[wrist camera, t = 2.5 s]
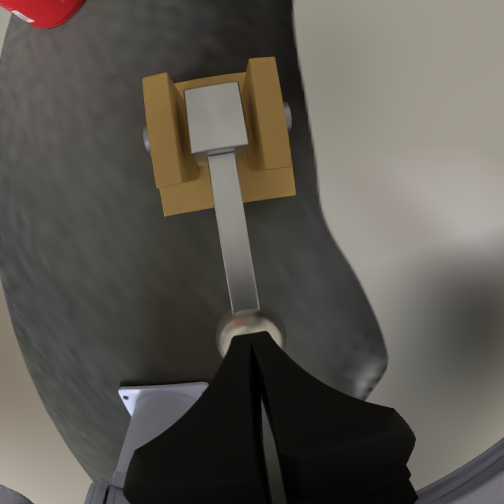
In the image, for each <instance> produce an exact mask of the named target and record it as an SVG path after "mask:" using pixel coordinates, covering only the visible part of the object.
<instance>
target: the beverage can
mask: <svg viewBox="0 0 504 504" xmlns="http://www.w3.org/2000/svg"><path fill="white" fill-rule="evenodd" d="M83 2H84V0H0V6H1V7H3V8H5V9H7V10H8V11H10V12H11V13H13V14H15V15H16V16H18V17H19V18H21V19H23V20H24V21H26V22H27V23H29V24H30V25H32V26H34V27H36V28H55V27H57V26H60V25H62V24H63V23H65V22H66V21H68V20H69V19H70V18H71V17H73V16H74V15H75V14H76V13H77V11H78V10H79V9H80V7H81V6H82V4H83Z"/></svg>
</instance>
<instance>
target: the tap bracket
mask: <svg viewBox="0 0 504 504" xmlns="http://www.w3.org/2000/svg"><path fill="white" fill-rule="evenodd" d="M234 81H238V82H239V86H240V91H241V97H242V103H243V109H244V114H245V120H246V126H247V132H248V138H249V148H248V153H247V158H245V159H239V160H236V162H237V168H238V174H239V181H240V187H241V193H242V200H243V203H246V202H252V201H259V200H265V199H272V198H279V197H287V196H294V195H296V189H295V181H294V174H293V166H292V158H291V151H290V144H289V137H288V132H290V131H291V127H292V117H291V111H290V107H289V104H288V102H287V101H283V100H282V94H281V88H280V82H279V77H278V71H277V66H276V61H275V57H261V58H250V59H249V60H248V64H247V69H246V72H241V73H233V74H225V75H218V76H212V77H206V78H200V79H194V80H189V81H184V82H179V83H173V81H172V80H171V78H170V76H169V75H168V73H167V72H165V73H160V74H156V75H152V76H148V77H144V78H143V79H142V83H143V94H144V104H145V113H146V121H147V123H145V124H144V125H143V140H144V145H145V148H146V150H147V152H148V153H149V154H151V158H152V164H153V170H154V177H155V183H156V187H157V188H158V189H159V190H160V195H161V201H162V206H163V212H164V216H170V215H175V214H181V213H186V212H192V211H197V210H203V209H209V208H215V206H214V200H213V193H212V187H211V180H210V173H209V167H208V165H202V166H198V164H197V162H196V161H195V159H194V158H193V156H192V154H191V153H190V146H189V138H188V129H187V121H186V112H185V103H184V94H183V91H184V90H185V89H190V88H196V87H201V86H207V85H213V84H220V83H227V82H234Z"/></svg>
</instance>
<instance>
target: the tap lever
mask: <svg viewBox="0 0 504 504" xmlns="http://www.w3.org/2000/svg"><path fill="white" fill-rule="evenodd" d="M183 94H184V103H185V112H186V121H187V129H188V138H189V146H190V153H191V154H192V156H193V158H194V159H195V161H196V162H197V164H198V166H202V165H208V167H209V173H210V180H211V187H212V193H213V200H214V206H215V213H216V219H217V225H218V232H219V238H220V244H221V250H222V256H223V262H224V268H225V273H226V279H227V285H228V290H229V296H230V302H231V307H232V308H231V309H230V310H228V311H227V312H226V313H225V314H224V315H223V316H222V318H221V319H220V321H219V323H218V326H217V329H216V345H217V348H218V351H219V353H220V355H221V356H222V358H223V359H224V357H225V355H226V352H227V350H228V348H229V345H230V342H231V339H232V337H233V336H235V335H242V334H248V333H254V332H260V331H267V332H269V333H270V335H271V336H272V338H273V339H274V341H275V342H276V343H277V344H278V345H279V347H280V348H281V349H282V350H284V348H285V344H286V330H285V326H284V324H283V322H282V320H281V318H280V317H279V316H278V314H277V313H276V312H275V311H274V310H272V309H271V308H269V307H267V306H265V305H263V304H259V300H258V294H257V288H256V281H255V275H254V269H253V263H252V256H251V250H250V244H249V237H248V231H247V225H246V218H245V212H244V206H243V200H242V193H241V187H240V181H239V174H238V168H237V162H236V160H239V159H245V158H247V153H248V148H249V138H248V132H247V126H246V120H245V114H244V109H243V103H242V97H241V91H240V86H239V82H238V81H234V82H227V83H220V84H213V85H207V86H201V87H196V88H190V89H185V90H184V91H183Z"/></svg>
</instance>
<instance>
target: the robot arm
mask: <svg viewBox="0 0 504 504" xmlns="http://www.w3.org/2000/svg"><path fill="white" fill-rule="evenodd" d="M202 391H204V392H202ZM118 392H119V395H120V397H121V399H122V400H123V402H124V404H125V406H126V408H127V410H128V411H129V413H130V415H131V421H130V424H129V427H128V430H127V434H126V437H125V440H124V444H123V447H122V451H121V454H120V458H119V461H118V465H117V468H116V471H114V474H113V478H112V482H111V486H109V485H108V483H109V481H107V480H104V479H100V480H99V481H96V482H93V483H92V484H91V485H90V488H89V490H88V493H87V496H86V499H85V502H84V504H273V500H272V495H271V489H270V483H269V477H268V472H267V466H266V460H265V453H264V445H263V429H262V408H261V398H262V401H263V405H264V408H265V411H266V415H267V418H268V421H269V425H270V428H271V431H272V435H273V438H274V442H275V446H276V450H277V455H278V460H279V466H280V471H281V476H282V481H283V486H284V491H285V496H286V502H287V504H504V438H502V439H501V440H500V441H498V442H497V443H496V444H494V445H493V446H492V447H490V448H489V449H487V450H486V451H485V452H483V453H482V454H480V455H479V456H477V457H476V458H474V459H473V460H471V461H470V462H468V463H467V464H465V465H463V466H462V467H460V468H458V469H457V470H455V471H453V472H452V473H450V474H448V475H446V476H445V477H443V478H441V479H439V480H437V481H435V482H434V483H432V484H430V485H428V486H426V487H424V488H422V489H420V490H418V491H415V490H414V488H413V486H412V484H411V482H410V481H409V478H410V477H411V473H410V471H409V469H408V468H407V466H406V464H407V462H408V460H409V457H410V455H411V453H412V451H413V448H414V446H415V441H416V438H415V435H414V433H413V432H412V430H411V428H410V427H409V425H408V424H407V423H406V421H405V420H404V419H403V418H402V417H401V416H400V415H399V413H397V412H396V410H395V409H394V408H390V407H385V406H381V405H377V404H373V403H369V402H365V401H362V400H360V399H357V398H354V397H351V396H349V395H346V394H344V393H342V392H340V391H338V390H336V389H333V388H331V387H329V386H328V385H326V384H324V383H323V382H321V381H319V380H318V379H316V378H315V377H313V376H312V375H310V374H309V373H308V372H306V371H305V370H304V369H303V368H301V367H300V366H299V365H298V364H297V363H295V362H294V361H293V360H292V359H291V358H290V357H289V356H288V355H287V354H286V353H285V352H284V351H283V350H282V349H281V348H280V347H279V345H278V344H277V343H276V342H275V341H274V339H273V338H272V336H271V335H270V333H269V332H267V331H260V332H254V333H248V334H242V335H235V336H233V337H232V339H231V342H230V345H229V348H228V350H227V352H226V355H225V357H224V359H223V361H222V363H221V365H220V367H219V369H218V371H217V372H216V374H215V376H214V377H213V379H212V380H211V382H210V384H208V383H207V382H193V383H182V384H170V385H154V386H130V387H120V388H119V391H118ZM126 396H127V397H126ZM0 504H34V503H32V502H31V501H30V500H29V499H28V498H26V497H25V496H23V495H22V494H20V493H18V492H16V491H14V490H12V489H9V488H7V487H5V486H3V485H0Z"/></svg>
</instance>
